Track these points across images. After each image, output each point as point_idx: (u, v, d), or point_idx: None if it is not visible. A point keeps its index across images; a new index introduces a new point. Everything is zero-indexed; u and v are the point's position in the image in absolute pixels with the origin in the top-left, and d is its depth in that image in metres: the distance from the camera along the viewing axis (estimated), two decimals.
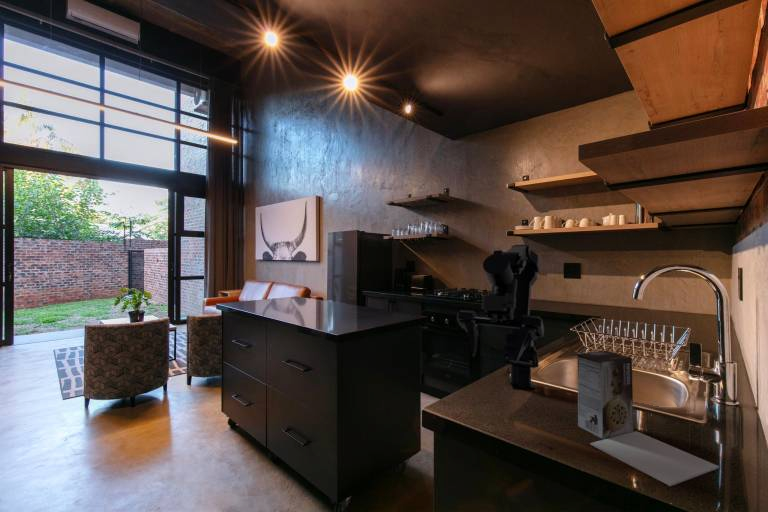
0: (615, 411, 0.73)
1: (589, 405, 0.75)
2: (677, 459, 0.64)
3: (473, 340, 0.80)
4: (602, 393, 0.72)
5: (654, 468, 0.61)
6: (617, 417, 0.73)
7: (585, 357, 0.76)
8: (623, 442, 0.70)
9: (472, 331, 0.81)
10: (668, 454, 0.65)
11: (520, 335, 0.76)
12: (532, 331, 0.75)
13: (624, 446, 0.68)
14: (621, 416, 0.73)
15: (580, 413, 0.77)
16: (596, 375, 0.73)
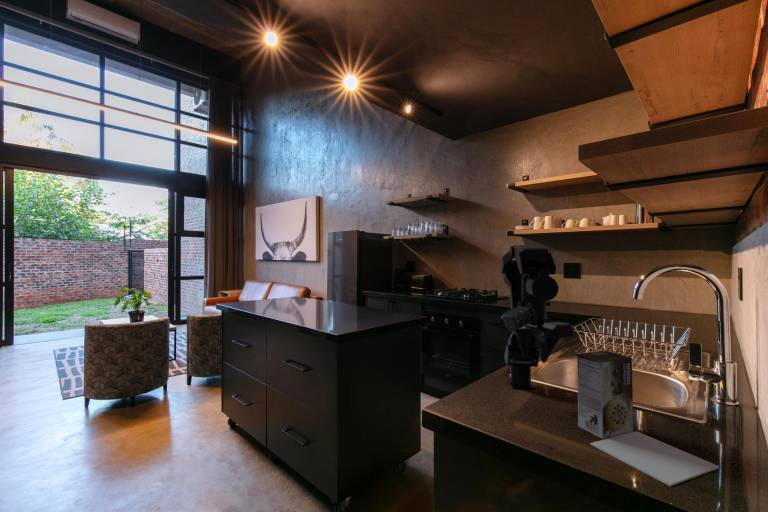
0: (615, 411, 0.73)
1: (589, 405, 0.75)
2: (677, 459, 0.64)
3: (521, 343, 0.91)
4: (602, 393, 0.72)
5: (654, 468, 0.61)
6: (617, 417, 0.73)
7: (585, 357, 0.76)
8: (623, 442, 0.70)
9: (518, 336, 0.91)
10: (668, 454, 0.65)
11: (541, 341, 0.84)
12: (547, 338, 0.81)
13: (624, 446, 0.68)
14: (621, 416, 0.73)
15: (580, 413, 0.77)
16: (596, 375, 0.73)
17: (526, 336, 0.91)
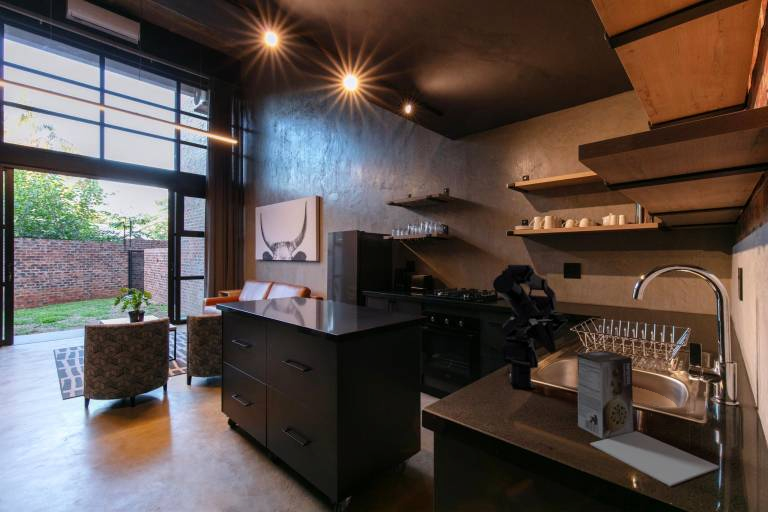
0: (615, 411, 0.73)
1: (589, 405, 0.75)
2: (677, 459, 0.64)
3: None
4: (602, 393, 0.72)
5: (654, 468, 0.61)
6: (617, 417, 0.73)
7: (585, 357, 0.76)
8: (623, 442, 0.70)
9: None
10: (668, 454, 0.65)
11: None
12: (525, 336, 0.93)
13: (624, 446, 0.68)
14: (621, 416, 0.73)
15: (580, 413, 0.77)
16: (596, 375, 0.73)
17: None
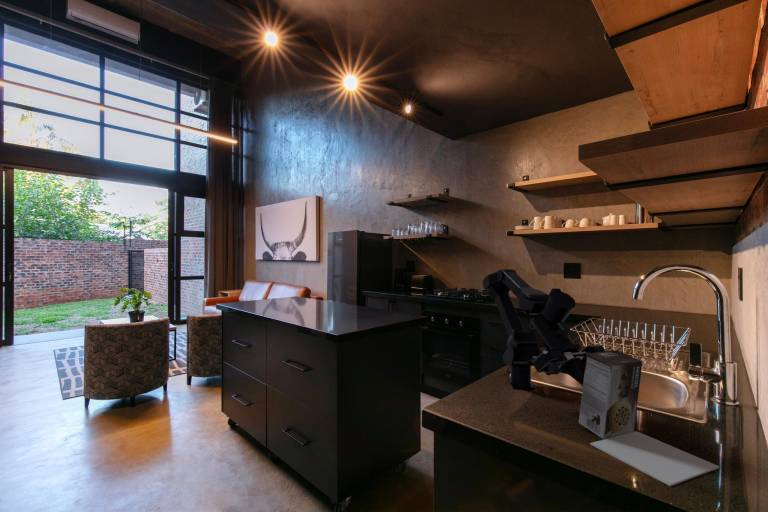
0: (619, 413, 0.72)
1: (593, 405, 0.74)
2: (677, 459, 0.64)
3: None
4: (608, 396, 0.71)
5: (654, 468, 0.61)
6: (620, 419, 0.72)
7: (594, 358, 0.74)
8: (623, 442, 0.70)
9: None
10: (668, 454, 0.65)
11: None
12: (560, 371, 0.83)
13: (624, 446, 0.68)
14: (624, 418, 0.73)
15: (582, 410, 0.76)
16: (604, 378, 0.71)
17: None
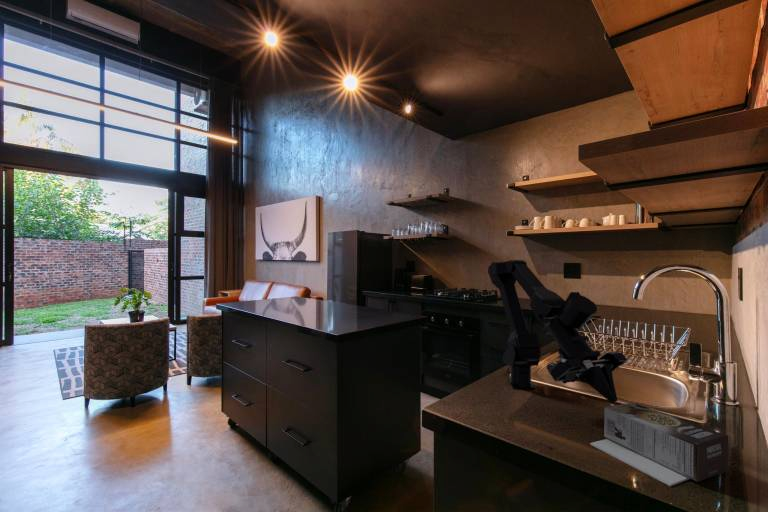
0: None
1: (632, 434, 0.66)
2: None
3: None
4: (653, 460, 0.63)
5: (654, 468, 0.61)
6: None
7: (696, 456, 0.57)
8: None
9: None
10: None
11: None
12: (578, 380, 0.78)
13: (624, 446, 0.68)
14: None
15: (619, 416, 0.69)
16: (674, 463, 0.60)
17: None
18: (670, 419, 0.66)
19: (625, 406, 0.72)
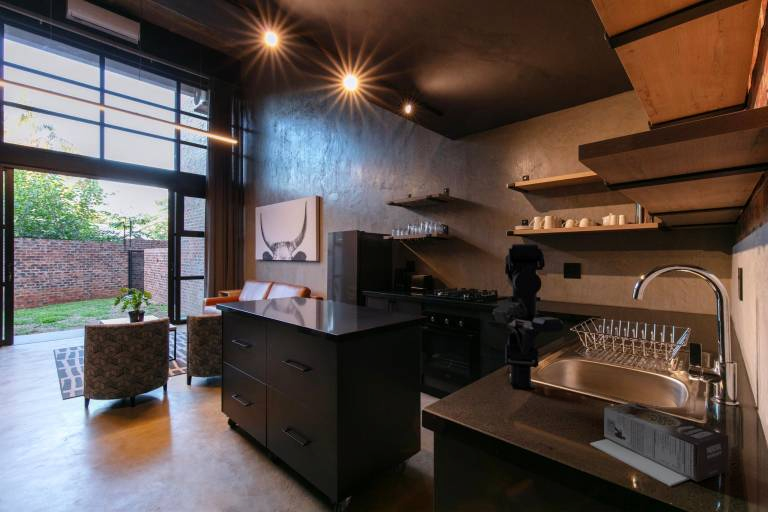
0: None
1: (632, 434, 0.66)
2: None
3: (520, 341, 0.89)
4: (653, 460, 0.63)
5: (654, 468, 0.61)
6: None
7: (696, 456, 0.57)
8: None
9: (517, 333, 0.89)
10: None
11: (522, 333, 0.88)
12: None
13: (624, 446, 0.68)
14: None
15: (619, 416, 0.69)
16: (674, 463, 0.60)
17: None
18: (670, 419, 0.66)
19: (625, 406, 0.72)
